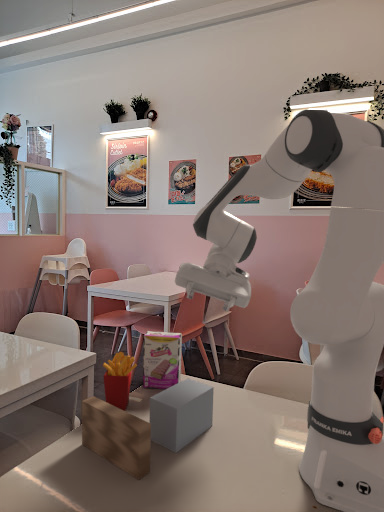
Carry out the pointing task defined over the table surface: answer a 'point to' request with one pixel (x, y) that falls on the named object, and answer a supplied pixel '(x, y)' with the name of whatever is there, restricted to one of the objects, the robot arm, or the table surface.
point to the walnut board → (116, 436)
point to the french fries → (118, 380)
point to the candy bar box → (161, 359)
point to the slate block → (181, 414)
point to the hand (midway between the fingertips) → (207, 302)
